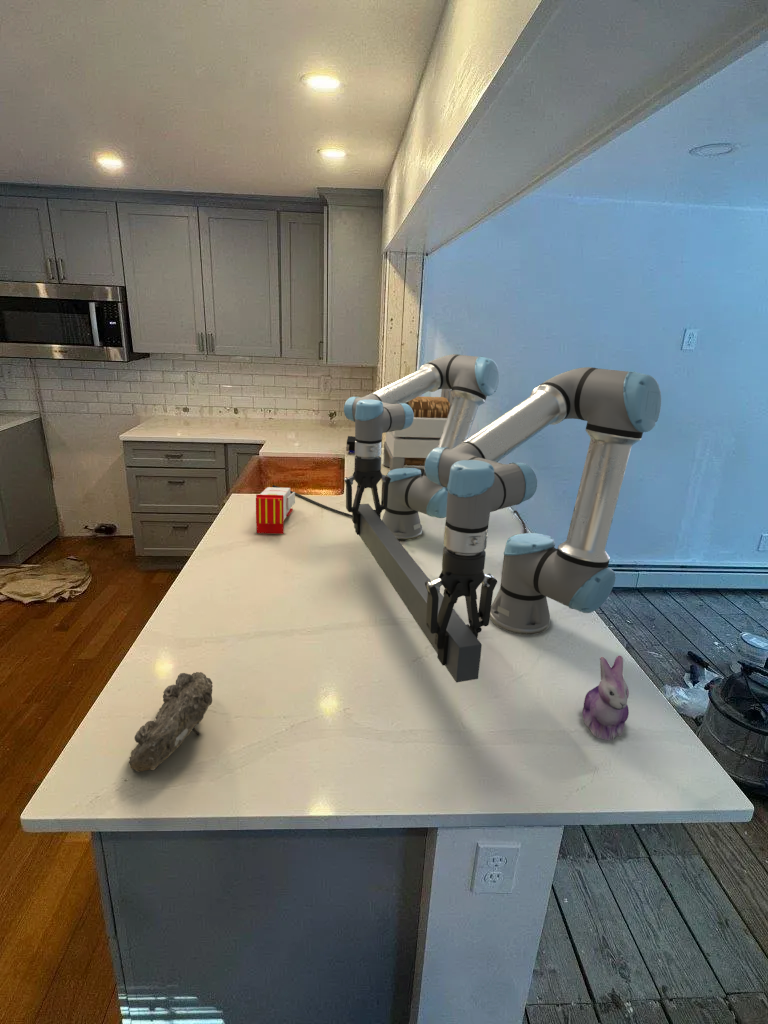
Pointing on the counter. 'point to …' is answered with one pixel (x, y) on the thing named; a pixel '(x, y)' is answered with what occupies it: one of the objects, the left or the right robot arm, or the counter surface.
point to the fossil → (172, 721)
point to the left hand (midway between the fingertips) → (366, 532)
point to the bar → (419, 594)
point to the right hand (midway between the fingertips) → (454, 659)
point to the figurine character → (351, 444)
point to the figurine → (607, 702)
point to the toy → (273, 509)
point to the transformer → (418, 432)
